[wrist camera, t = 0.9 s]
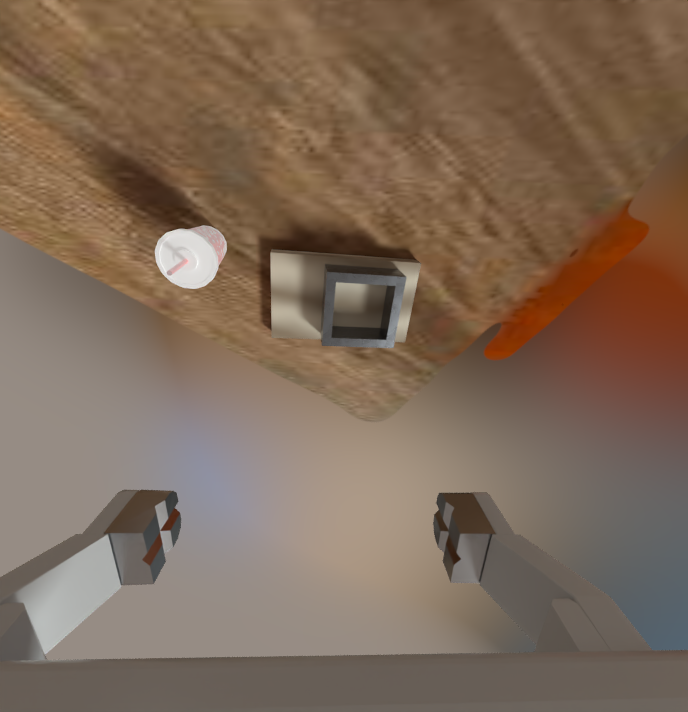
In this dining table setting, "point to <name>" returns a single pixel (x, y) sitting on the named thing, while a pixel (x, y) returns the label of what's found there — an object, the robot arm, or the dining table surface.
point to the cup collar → (362, 335)
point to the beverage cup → (190, 255)
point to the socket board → (352, 301)
